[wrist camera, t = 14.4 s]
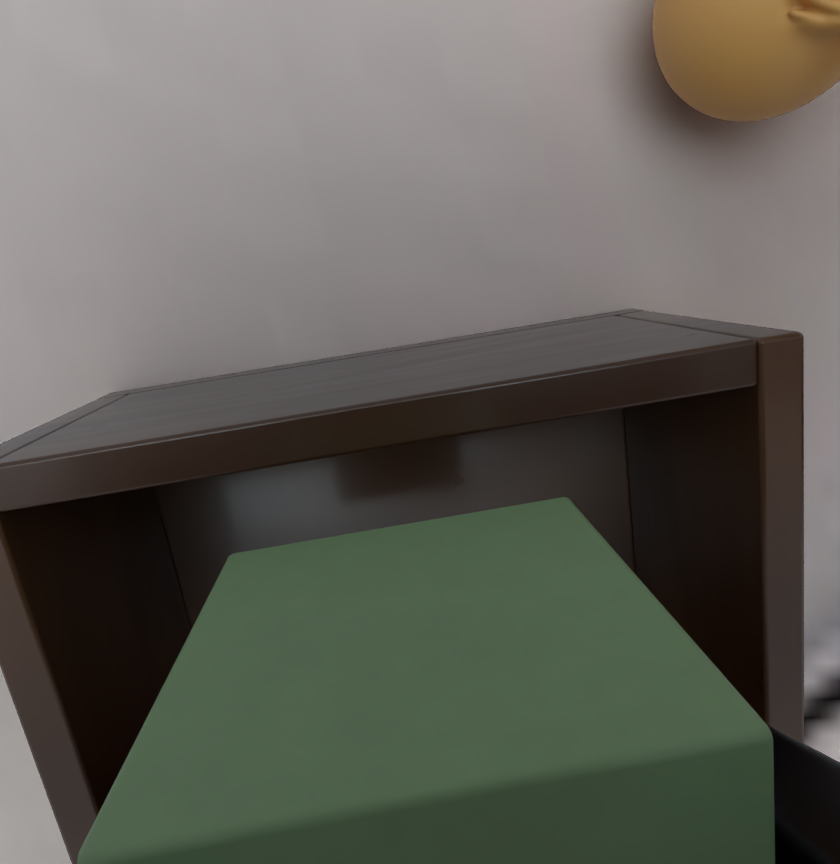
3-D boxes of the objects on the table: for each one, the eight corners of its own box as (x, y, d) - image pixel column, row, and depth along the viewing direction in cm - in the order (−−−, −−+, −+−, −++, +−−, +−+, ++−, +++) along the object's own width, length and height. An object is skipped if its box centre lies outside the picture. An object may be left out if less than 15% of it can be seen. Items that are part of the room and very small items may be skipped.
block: (596, 775, 9) (784, 1196, 5) (297, 830, 9) (232, 1313, 5) (568, 494, 8) (779, 730, 4) (227, 551, 8) (66, 862, 4)
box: (108, 392, 15) (-72, 476, 9) (633, 308, 15) (806, 330, 9) (213, 766, 17) (129, 1029, 11) (658, 684, 18) (805, 894, 12)
